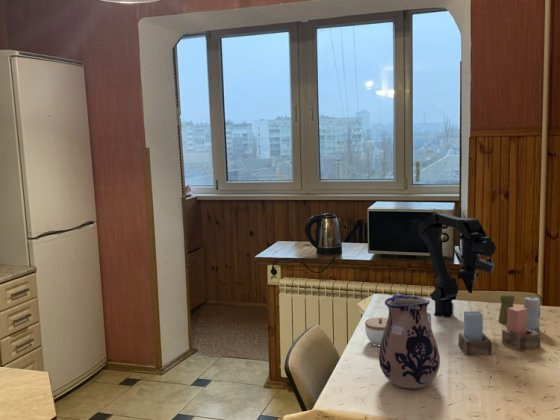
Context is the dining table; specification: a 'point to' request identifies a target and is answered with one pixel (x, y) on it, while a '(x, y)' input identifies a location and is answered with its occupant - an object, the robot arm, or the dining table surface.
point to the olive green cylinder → (505, 306)
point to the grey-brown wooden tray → (521, 339)
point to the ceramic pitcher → (408, 343)
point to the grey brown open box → (475, 345)
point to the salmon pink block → (517, 320)
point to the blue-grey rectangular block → (473, 325)
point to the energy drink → (532, 312)
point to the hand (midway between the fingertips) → (470, 292)
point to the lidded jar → (375, 329)
